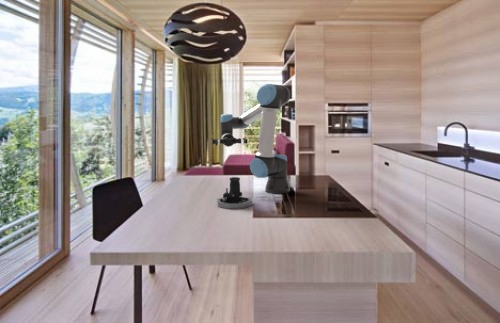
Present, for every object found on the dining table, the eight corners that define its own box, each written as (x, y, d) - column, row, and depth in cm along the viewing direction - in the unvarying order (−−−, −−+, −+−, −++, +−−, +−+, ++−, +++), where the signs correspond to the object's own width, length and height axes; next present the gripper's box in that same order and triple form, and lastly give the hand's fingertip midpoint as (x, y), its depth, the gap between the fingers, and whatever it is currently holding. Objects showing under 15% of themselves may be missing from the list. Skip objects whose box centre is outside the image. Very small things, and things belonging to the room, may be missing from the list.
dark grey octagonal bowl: (248, 200, 220) (248, 195, 220) (253, 207, 203) (253, 203, 202) (216, 201, 218) (216, 197, 218) (218, 209, 200) (218, 204, 200)
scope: (225, 176, 213) (243, 176, 211) (225, 201, 215) (243, 202, 213) (221, 178, 205) (240, 179, 203) (222, 205, 207) (240, 205, 205)
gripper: (248, 145, 244) (253, 148, 223) (207, 146, 241) (208, 149, 220) (248, 133, 243) (253, 135, 222) (207, 134, 240) (208, 136, 219)
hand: (231, 142), depth 221 cm, fingers open, 13 cm apart
